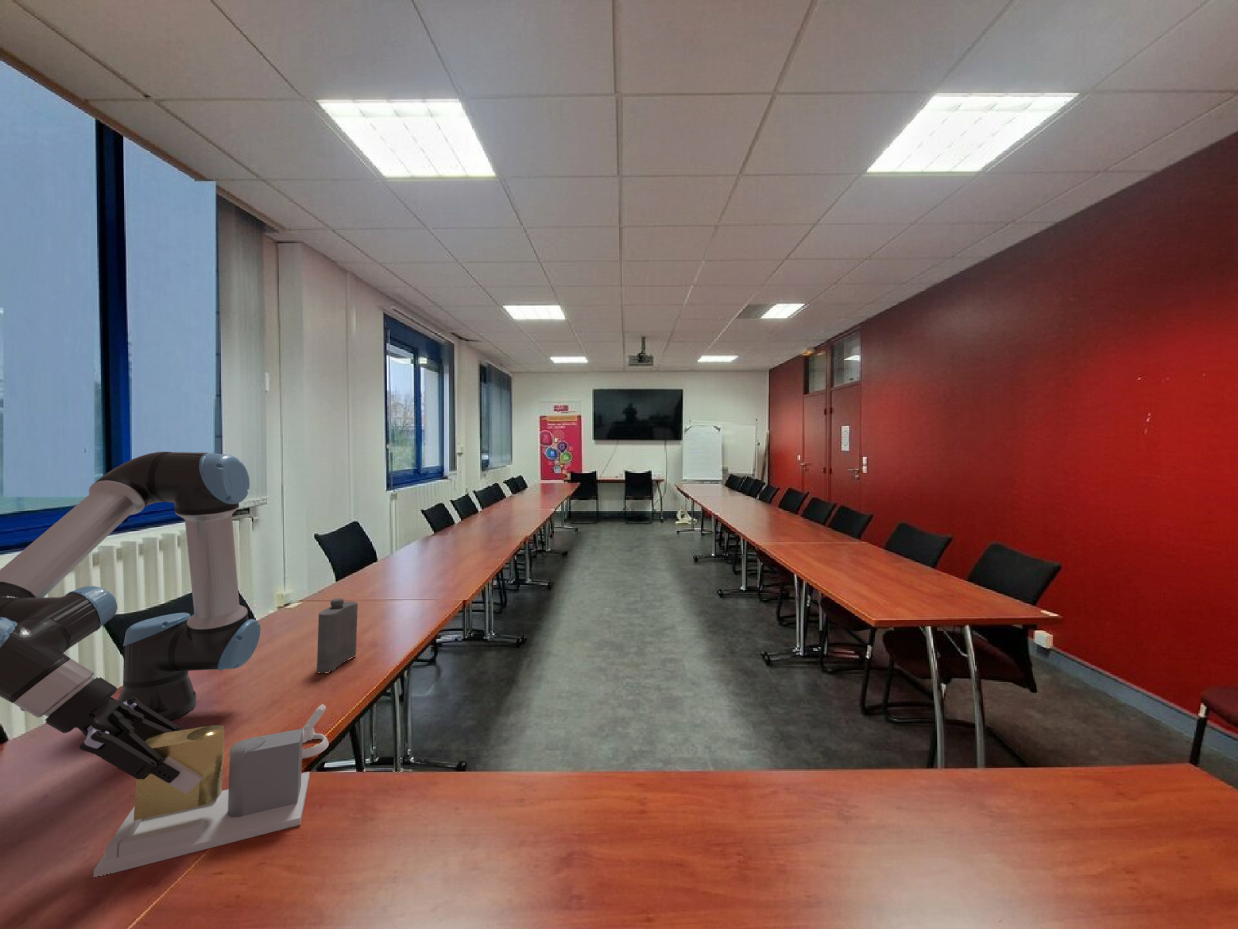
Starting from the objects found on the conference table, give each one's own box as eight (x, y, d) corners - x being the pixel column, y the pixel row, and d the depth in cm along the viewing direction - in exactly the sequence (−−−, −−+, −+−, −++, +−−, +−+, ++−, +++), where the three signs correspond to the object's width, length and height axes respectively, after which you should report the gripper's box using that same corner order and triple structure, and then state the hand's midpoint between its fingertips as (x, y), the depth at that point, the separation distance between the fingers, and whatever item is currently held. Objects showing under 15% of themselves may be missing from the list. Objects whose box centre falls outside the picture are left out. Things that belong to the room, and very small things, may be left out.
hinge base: (93, 878, 72) (96, 796, 73) (134, 816, 85) (136, 746, 85) (300, 824, 84) (302, 754, 84) (309, 777, 97) (311, 716, 97)
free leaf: (133, 820, 77) (137, 750, 78) (146, 801, 82) (150, 735, 82) (217, 802, 82) (220, 736, 83) (224, 785, 87) (228, 723, 87)
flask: (341, 654, 158) (343, 593, 158) (359, 655, 158) (361, 593, 158) (309, 673, 143) (312, 606, 143) (328, 674, 143) (331, 606, 143)
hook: (337, 736, 102) (307, 720, 101) (306, 776, 104) (276, 761, 102) (353, 711, 110) (325, 696, 108) (324, 749, 111) (296, 734, 110)
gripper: (76, 692, 83) (196, 766, 90) (5, 748, 67) (158, 832, 74) (120, 656, 85) (233, 731, 93) (62, 702, 69) (204, 787, 76)
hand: (200, 775), depth 83 cm, fingers closed on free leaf, 5 cm apart
